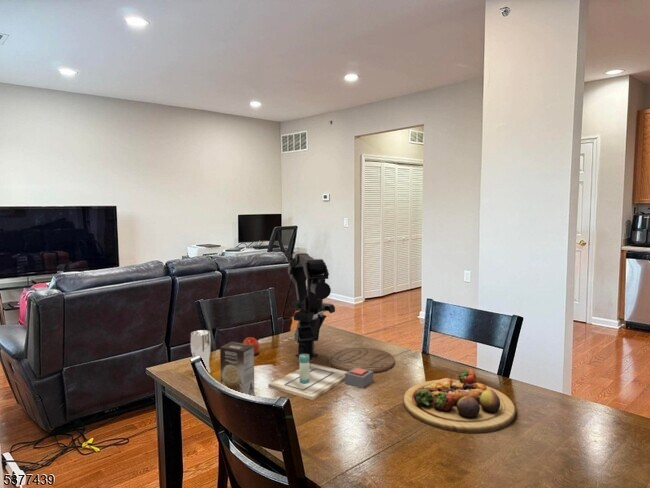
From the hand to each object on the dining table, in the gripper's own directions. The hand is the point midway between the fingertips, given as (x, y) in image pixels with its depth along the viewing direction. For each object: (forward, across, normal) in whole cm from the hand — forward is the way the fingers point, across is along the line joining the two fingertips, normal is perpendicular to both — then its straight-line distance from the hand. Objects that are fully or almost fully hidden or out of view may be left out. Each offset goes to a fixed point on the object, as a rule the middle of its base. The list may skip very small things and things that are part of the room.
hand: (315, 335), depth 166 cm
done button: (+11, +4, +21) cm, 24 cm away
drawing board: (+12, +12, +7) cm, 18 cm away
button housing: (+12, +4, +21) cm, 25 cm away
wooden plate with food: (+13, +4, +54) cm, 56 cm away
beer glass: (+12, +28, -30) cm, 43 cm away
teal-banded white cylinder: (+11, +16, +7) cm, 21 cm away
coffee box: (+12, +34, -6) cm, 37 cm away
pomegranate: (+12, +3, -30) cm, 33 cm away
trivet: (+13, -14, +12) cm, 22 cm away
